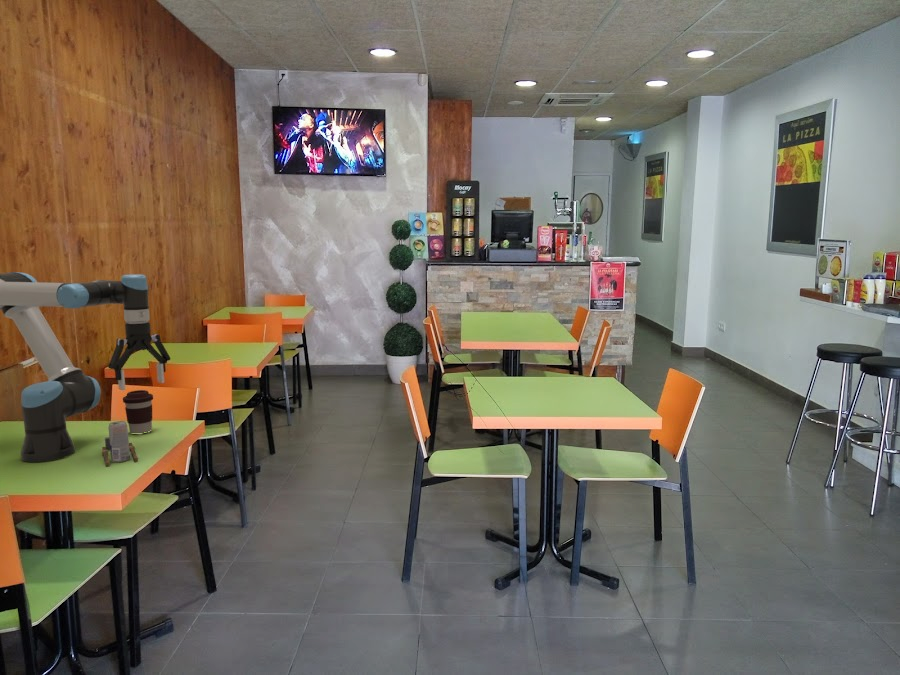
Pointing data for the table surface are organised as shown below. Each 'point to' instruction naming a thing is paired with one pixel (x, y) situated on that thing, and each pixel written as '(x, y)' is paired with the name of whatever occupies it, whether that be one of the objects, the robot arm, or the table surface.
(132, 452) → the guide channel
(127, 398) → the coffee cup
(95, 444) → the table surface
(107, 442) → the stop block
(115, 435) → the energy drink
